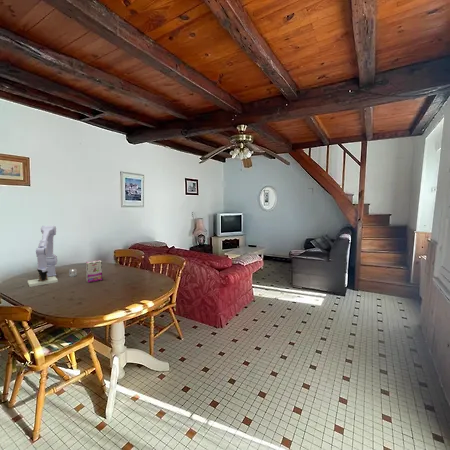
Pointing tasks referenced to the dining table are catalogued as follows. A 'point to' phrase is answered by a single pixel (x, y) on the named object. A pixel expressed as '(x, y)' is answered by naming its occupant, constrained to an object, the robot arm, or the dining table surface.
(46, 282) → the socket plate
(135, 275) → the dining table surface
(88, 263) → the candy bar box
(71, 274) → the grey round peg
